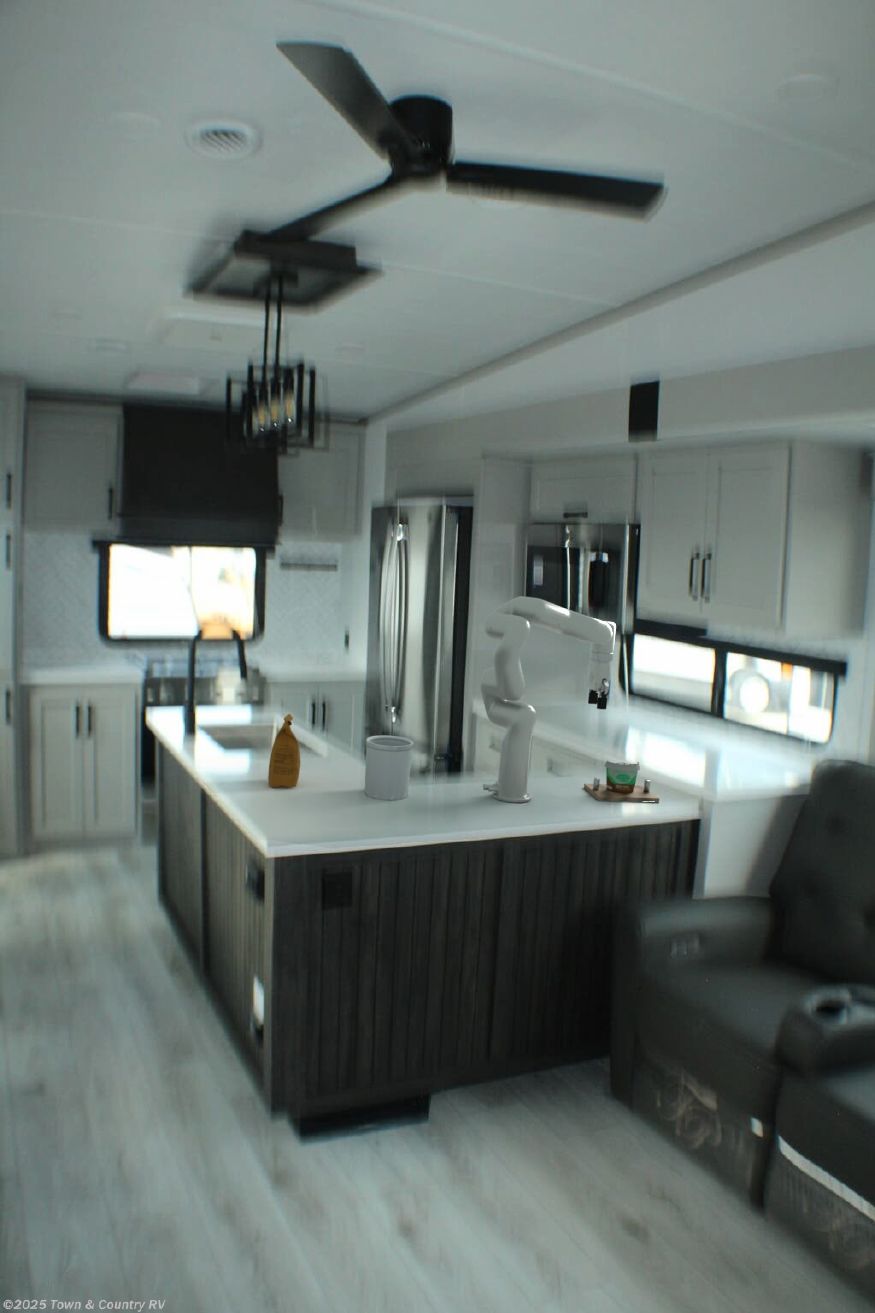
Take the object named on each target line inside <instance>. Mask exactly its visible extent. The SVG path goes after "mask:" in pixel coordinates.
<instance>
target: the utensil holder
mask: <svg viewBox="0 0 875 1313" xmlns="http://www.w3.org/2000/svg"><path fill="white" fill-rule="evenodd" d="M365 744H366V751H365V752H366V753H365V768H364V769H365V770H364V772H365V774H364V794H365V795H366V796H368V797H369V798H372V799H376V800H383V801H398V800H403V799H406V798H407V797H408V795H409V786H410V778H411V777H410V776H411V765H412V753H413V748H414V741H413V740H412V739H410V738H407V737H403V736H399V735H398V736H397V735H389V734H387V735H386V734H385V735H371V736H369V737H367V738H366V740H365Z"/></svg>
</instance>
